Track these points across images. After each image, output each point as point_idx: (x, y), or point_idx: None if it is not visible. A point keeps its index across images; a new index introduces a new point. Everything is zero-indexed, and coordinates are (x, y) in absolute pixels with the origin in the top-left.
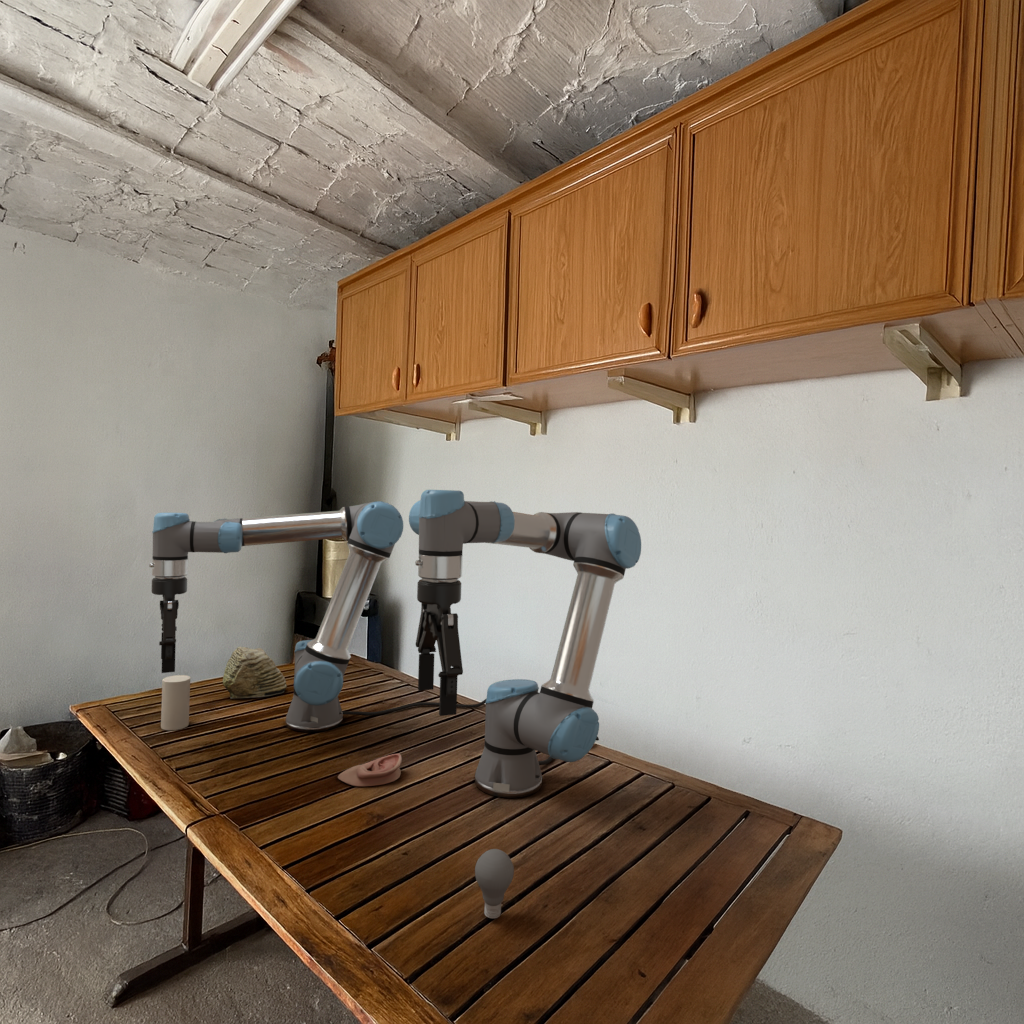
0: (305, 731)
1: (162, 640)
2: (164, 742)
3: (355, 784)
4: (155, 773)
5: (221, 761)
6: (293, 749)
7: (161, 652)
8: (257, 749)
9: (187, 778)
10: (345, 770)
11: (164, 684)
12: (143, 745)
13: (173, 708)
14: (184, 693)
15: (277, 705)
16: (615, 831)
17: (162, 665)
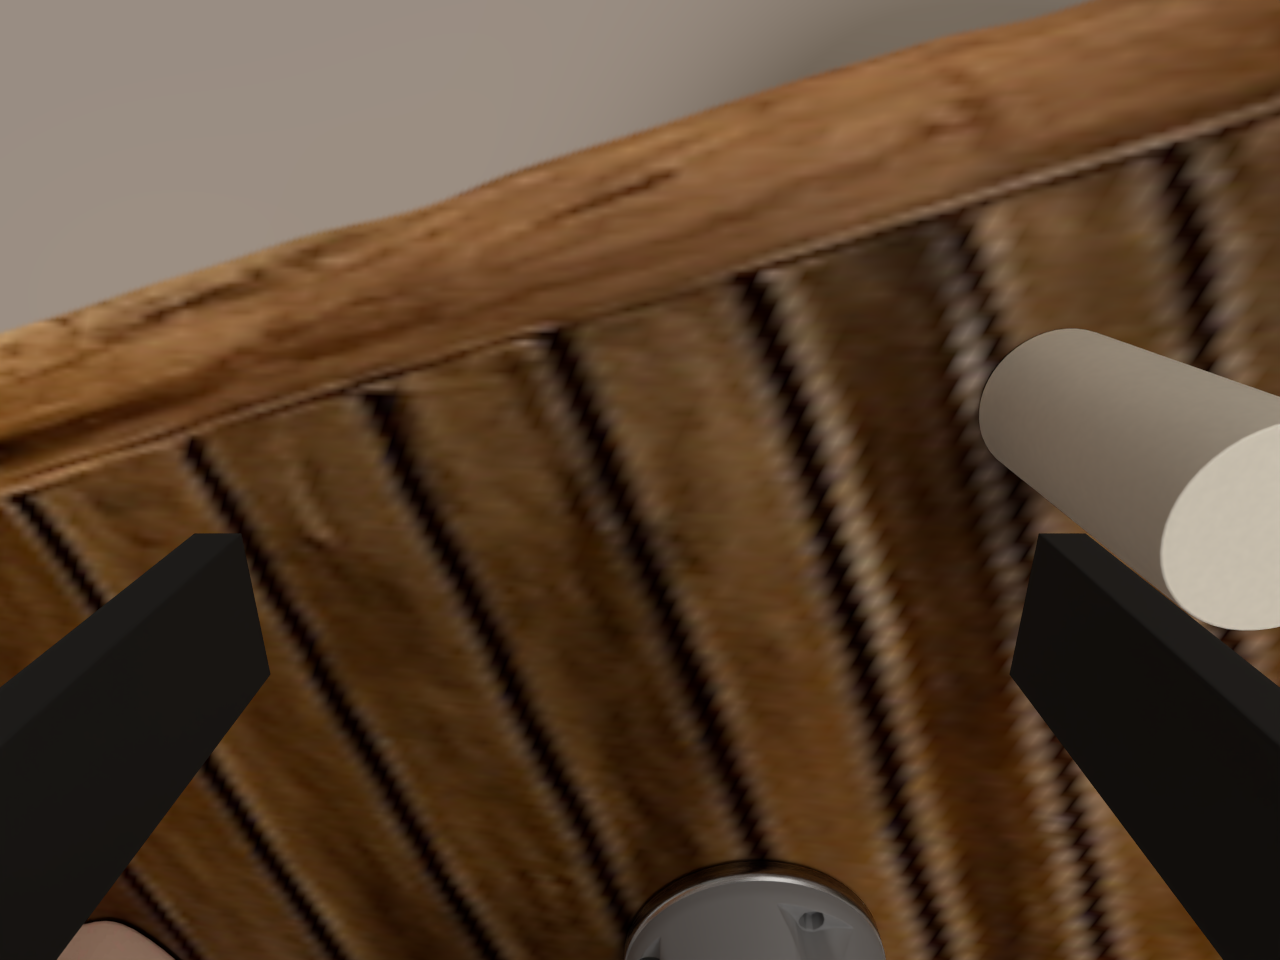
0: (641, 911)
1: (1245, 737)
2: (800, 344)
3: None
4: (353, 297)
5: (417, 583)
6: (461, 842)
7: (1095, 586)
8: (513, 727)
9: (249, 437)
10: (137, 957)
11: (1230, 426)
12: (805, 232)
13: (1047, 433)
14: (1103, 537)
15: (1086, 867)
16: None
17: (131, 596)
